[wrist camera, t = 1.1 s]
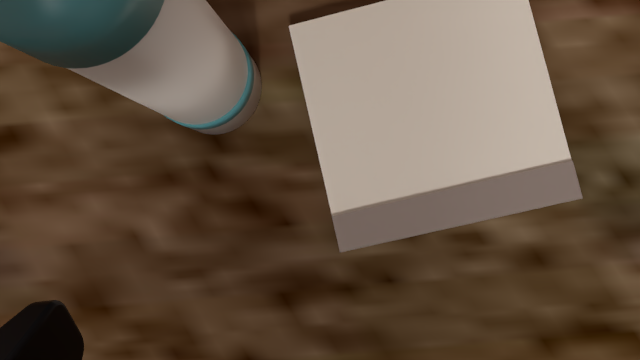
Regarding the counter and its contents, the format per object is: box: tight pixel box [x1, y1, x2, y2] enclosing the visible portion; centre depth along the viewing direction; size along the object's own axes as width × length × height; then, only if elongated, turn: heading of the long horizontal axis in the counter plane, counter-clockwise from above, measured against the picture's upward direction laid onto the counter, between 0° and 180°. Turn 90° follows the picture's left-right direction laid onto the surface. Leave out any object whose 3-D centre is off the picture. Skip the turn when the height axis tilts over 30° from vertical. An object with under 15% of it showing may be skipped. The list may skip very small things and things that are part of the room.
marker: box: [0, 0, 262, 135], centre depth 17 cm, size 4×4×13 cm
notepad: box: [289, 0, 583, 252], centre depth 22 cm, size 9×9×1 cm
